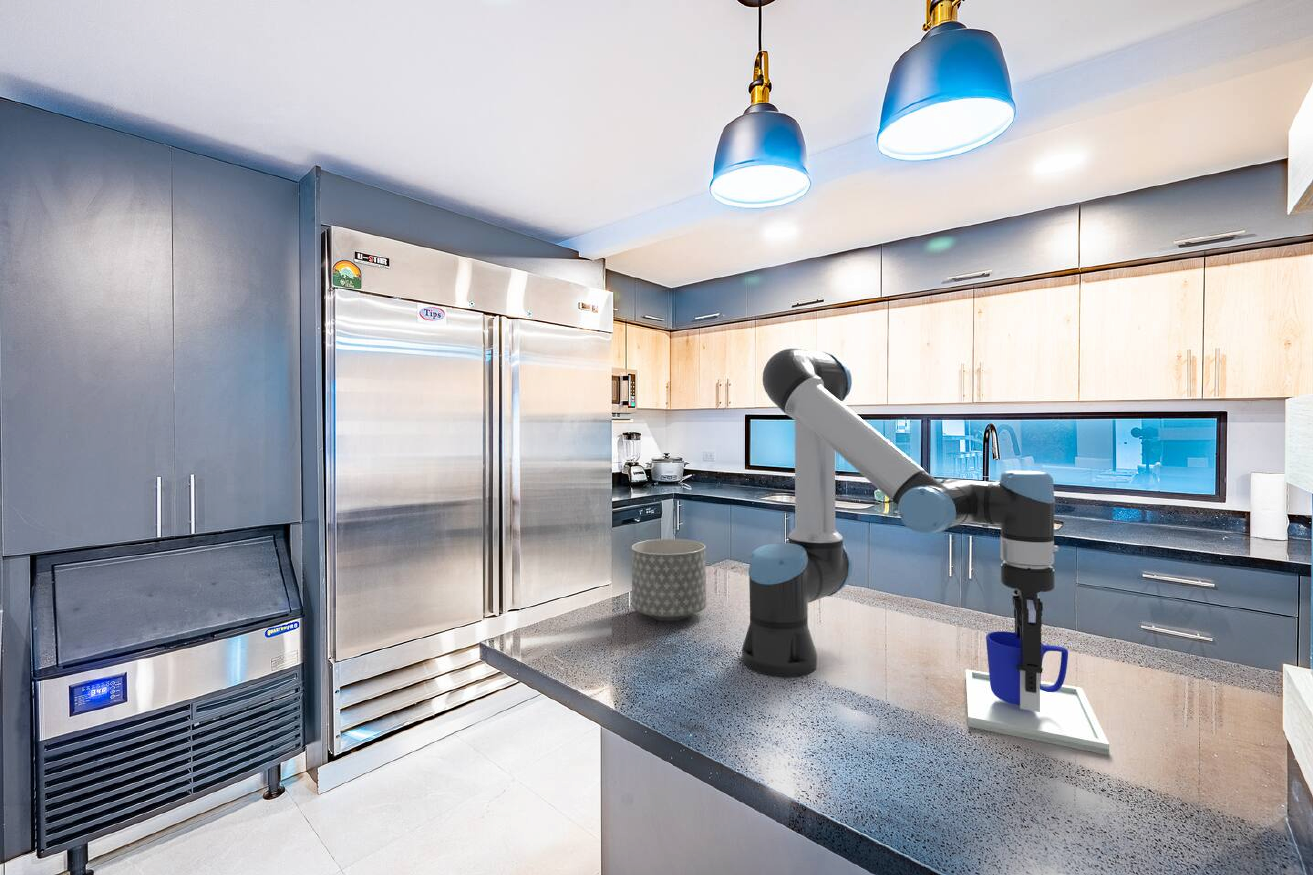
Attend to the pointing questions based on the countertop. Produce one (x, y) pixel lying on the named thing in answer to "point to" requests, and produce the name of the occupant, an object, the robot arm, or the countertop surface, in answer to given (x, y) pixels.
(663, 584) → the planter
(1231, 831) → the countertop surface
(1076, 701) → the tray
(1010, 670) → the mug
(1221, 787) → the countertop surface
